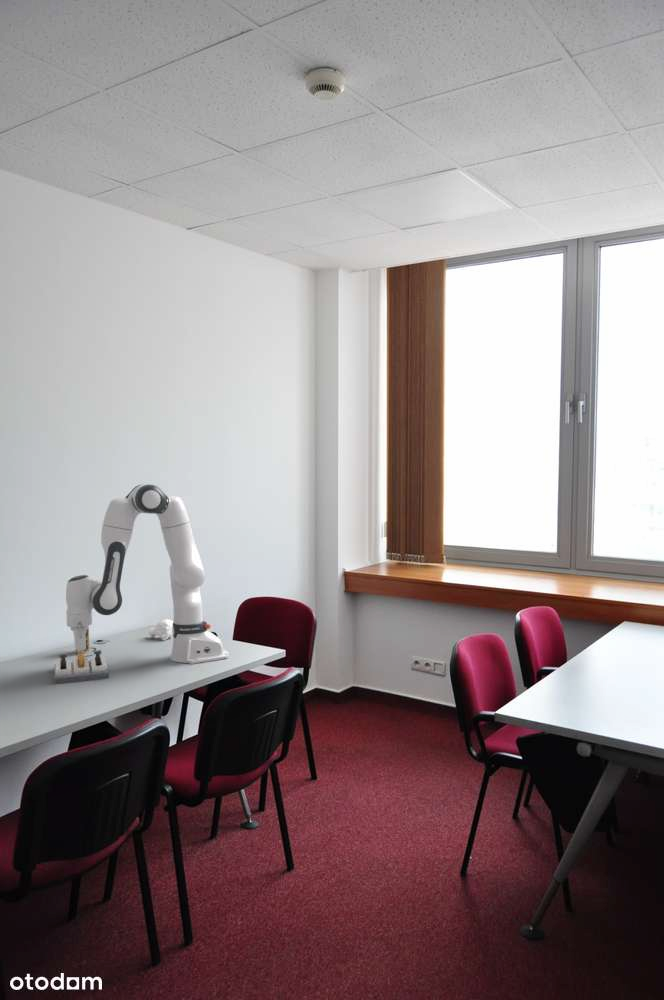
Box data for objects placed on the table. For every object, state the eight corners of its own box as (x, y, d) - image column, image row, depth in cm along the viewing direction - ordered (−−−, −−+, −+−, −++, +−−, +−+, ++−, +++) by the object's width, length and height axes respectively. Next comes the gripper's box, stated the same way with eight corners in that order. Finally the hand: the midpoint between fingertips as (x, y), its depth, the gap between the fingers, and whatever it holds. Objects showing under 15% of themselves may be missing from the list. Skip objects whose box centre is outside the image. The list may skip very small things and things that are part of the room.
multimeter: (98, 657, 290) (96, 607, 289) (72, 657, 291) (71, 607, 290) (110, 647, 305) (108, 599, 304) (86, 648, 305) (84, 600, 304)
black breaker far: (66, 667, 268) (66, 654, 268) (59, 668, 267) (59, 655, 267) (66, 665, 270) (66, 653, 270) (59, 666, 269) (59, 654, 269)
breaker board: (108, 678, 262) (108, 667, 262) (54, 684, 256) (54, 672, 255) (105, 664, 280) (105, 654, 279) (54, 669, 273) (54, 659, 273)
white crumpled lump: (167, 620, 315) (143, 621, 319) (169, 640, 315) (145, 641, 319) (175, 617, 321) (152, 618, 325) (177, 637, 321) (154, 637, 325)
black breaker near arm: (101, 663, 272) (101, 651, 272) (94, 664, 272) (94, 652, 271) (101, 662, 274) (100, 650, 274) (94, 663, 273) (94, 650, 273)
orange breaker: (84, 667, 267) (84, 655, 267) (77, 668, 266) (77, 656, 266) (84, 666, 269) (84, 654, 269) (77, 667, 268) (77, 654, 268)
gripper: (89, 625, 262) (90, 663, 262) (87, 614, 281) (88, 650, 281) (70, 626, 259) (71, 665, 260) (69, 615, 279) (71, 651, 279)
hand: (80, 657), depth 271 cm, fingers closed
